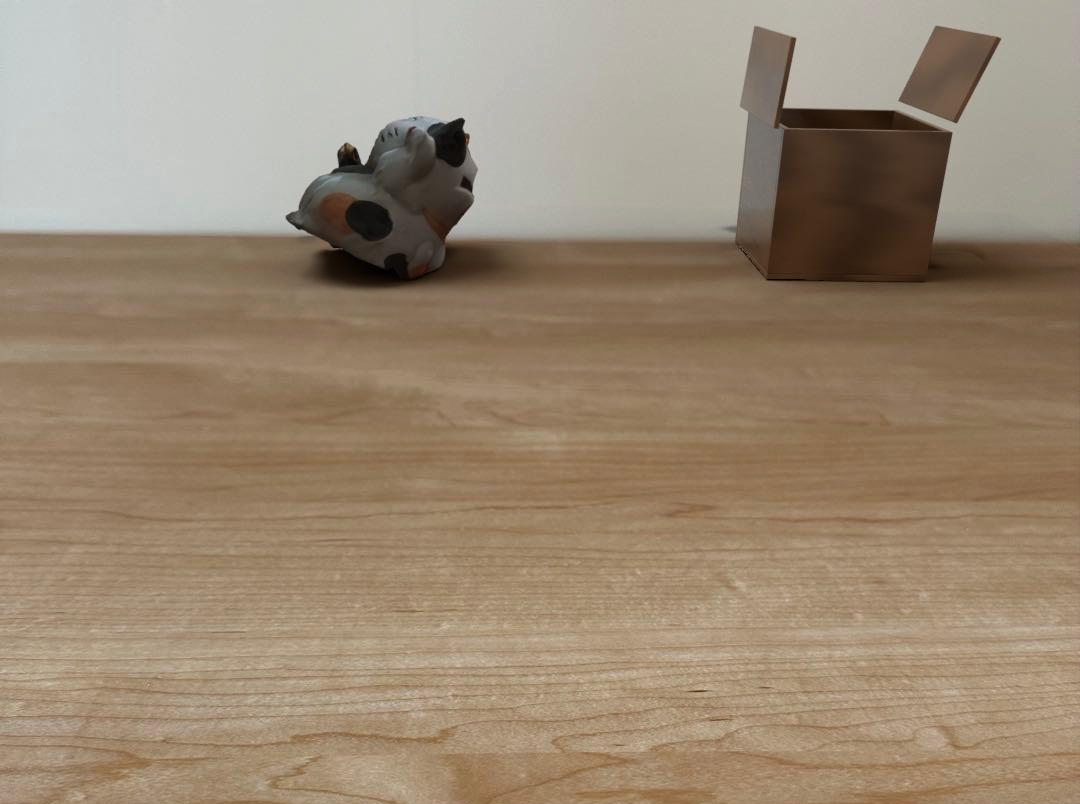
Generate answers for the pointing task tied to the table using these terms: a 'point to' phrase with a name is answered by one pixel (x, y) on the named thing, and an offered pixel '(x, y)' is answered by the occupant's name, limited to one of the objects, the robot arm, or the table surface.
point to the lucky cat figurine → (394, 196)
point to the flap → (948, 71)
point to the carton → (834, 182)
